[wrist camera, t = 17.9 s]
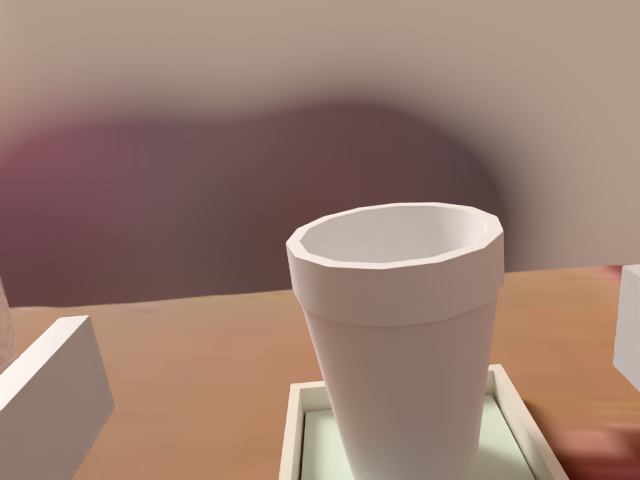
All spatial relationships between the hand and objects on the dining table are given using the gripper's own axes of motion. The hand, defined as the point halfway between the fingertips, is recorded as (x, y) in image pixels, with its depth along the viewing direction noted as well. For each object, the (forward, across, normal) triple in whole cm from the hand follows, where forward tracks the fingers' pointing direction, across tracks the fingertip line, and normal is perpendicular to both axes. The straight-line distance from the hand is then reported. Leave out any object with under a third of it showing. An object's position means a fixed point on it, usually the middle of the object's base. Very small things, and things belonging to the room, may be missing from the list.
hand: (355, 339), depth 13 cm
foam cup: (+10, +2, -14) cm, 17 cm away
